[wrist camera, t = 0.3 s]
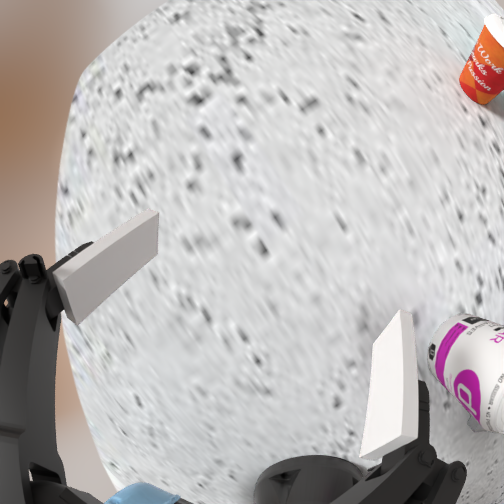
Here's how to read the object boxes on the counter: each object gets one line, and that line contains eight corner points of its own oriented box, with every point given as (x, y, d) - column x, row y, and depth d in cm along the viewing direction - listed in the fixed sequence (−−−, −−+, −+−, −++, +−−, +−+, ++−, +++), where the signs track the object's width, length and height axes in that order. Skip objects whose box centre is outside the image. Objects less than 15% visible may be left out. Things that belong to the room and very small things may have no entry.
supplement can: (431, 389, 24) (486, 458, 10) (418, 331, 25) (489, 381, 11) (482, 358, 23) (552, 402, 8) (472, 300, 24) (557, 321, 9)
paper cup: (446, 63, 24) (476, 2, 11) (483, 74, 23) (519, 23, 9) (462, 106, 24) (508, 48, 11) (500, 116, 23) (548, 70, 9)
